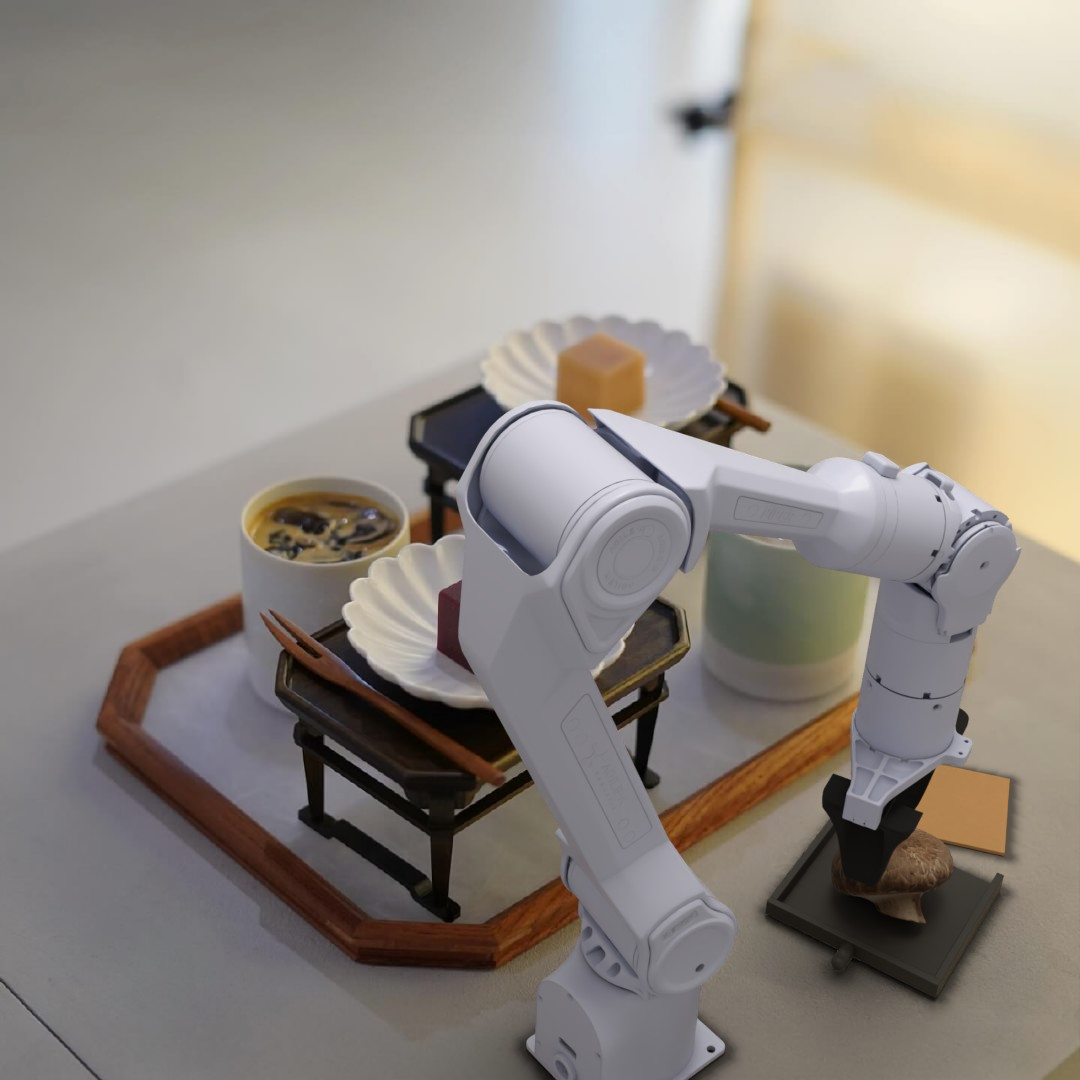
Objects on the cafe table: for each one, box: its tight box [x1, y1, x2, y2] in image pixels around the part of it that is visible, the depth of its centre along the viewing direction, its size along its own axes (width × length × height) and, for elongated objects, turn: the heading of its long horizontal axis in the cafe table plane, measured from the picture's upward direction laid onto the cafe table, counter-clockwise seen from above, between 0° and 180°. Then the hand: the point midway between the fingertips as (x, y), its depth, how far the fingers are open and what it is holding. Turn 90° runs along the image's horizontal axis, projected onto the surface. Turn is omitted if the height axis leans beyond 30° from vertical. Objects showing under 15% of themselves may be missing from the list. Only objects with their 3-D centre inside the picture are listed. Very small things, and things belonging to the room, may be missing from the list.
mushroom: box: [831, 828, 955, 924], centre depth 101 cm, size 8×8×6 cm
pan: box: [764, 818, 1005, 998], centre depth 101 cm, size 14×12×2 cm
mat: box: [915, 764, 1011, 857], centre depth 110 cm, size 8×8×1 cm
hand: (881, 839), depth 95 cm, fingers open, 7 cm apart
